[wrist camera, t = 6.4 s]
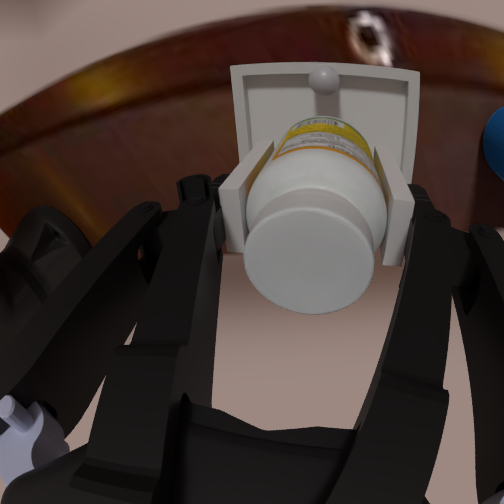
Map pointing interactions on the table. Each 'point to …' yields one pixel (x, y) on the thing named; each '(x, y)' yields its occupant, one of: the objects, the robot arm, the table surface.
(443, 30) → the table surface
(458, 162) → the table surface
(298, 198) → the supplement bottle
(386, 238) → the robot arm
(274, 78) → the tray
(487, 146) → the beverage can
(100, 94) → the table surface
